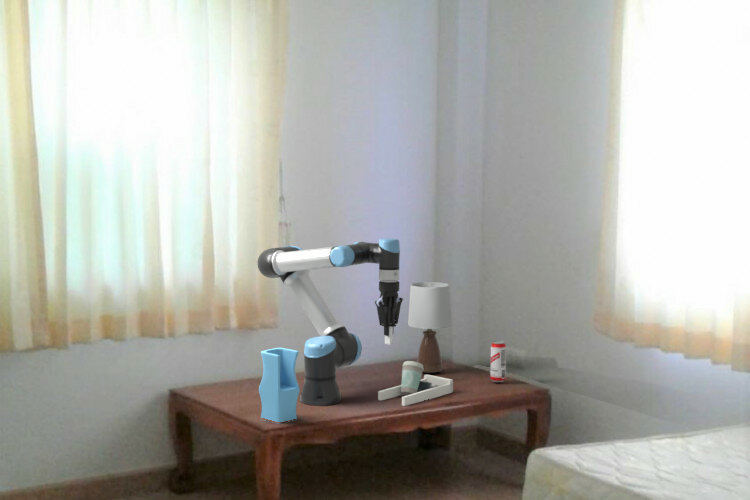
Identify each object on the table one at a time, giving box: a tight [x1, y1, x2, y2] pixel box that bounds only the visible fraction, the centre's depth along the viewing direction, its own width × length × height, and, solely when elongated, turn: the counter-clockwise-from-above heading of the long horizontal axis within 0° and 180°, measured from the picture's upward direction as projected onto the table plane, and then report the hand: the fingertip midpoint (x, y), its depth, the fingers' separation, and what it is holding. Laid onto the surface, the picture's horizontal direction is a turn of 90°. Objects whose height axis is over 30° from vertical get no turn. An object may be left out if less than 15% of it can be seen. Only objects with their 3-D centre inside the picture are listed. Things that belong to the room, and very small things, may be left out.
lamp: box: [407, 281, 452, 374], centre depth 389 cm, size 19×19×37 cm
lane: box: [377, 373, 454, 407], centre depth 347 cm, size 29×13×5 cm, turn 137°
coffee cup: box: [400, 360, 424, 396], centre depth 347 cm, size 8×8×12 cm
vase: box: [258, 347, 300, 422], centre depth 312 cm, size 10×10×25 cm
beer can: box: [489, 340, 507, 383], centre depth 371 cm, size 6×6×16 cm
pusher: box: [417, 381, 438, 392], centre depth 353 cm, size 10×9×5 cm
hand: (388, 343), depth 336 cm, fingers closed
